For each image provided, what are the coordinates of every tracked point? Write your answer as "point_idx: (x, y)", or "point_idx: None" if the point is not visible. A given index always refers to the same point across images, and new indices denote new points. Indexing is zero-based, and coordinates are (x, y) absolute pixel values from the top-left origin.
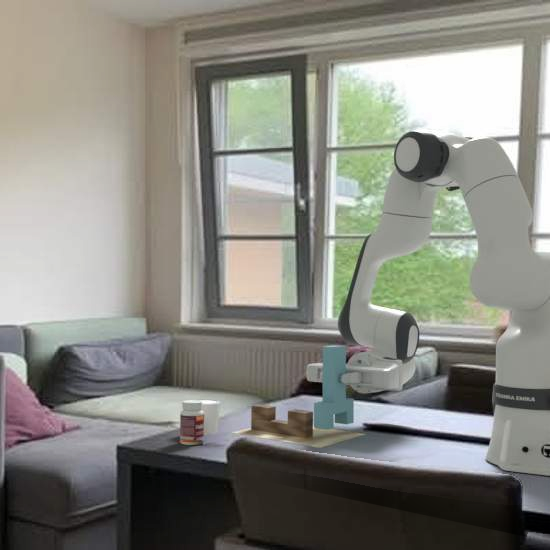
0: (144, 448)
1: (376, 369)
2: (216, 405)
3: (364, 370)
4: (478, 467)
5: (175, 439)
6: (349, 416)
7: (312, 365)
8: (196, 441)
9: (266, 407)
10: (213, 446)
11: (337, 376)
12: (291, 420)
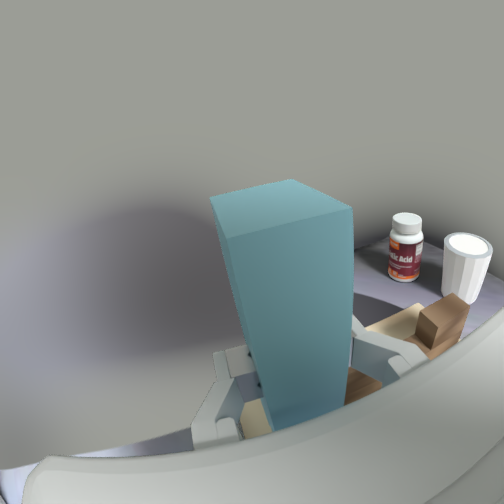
0: (383, 242)
1: (84, 466)
2: (453, 254)
3: (163, 454)
4: (15, 481)
5: (428, 264)
6: None
7: (501, 308)
8: (388, 270)
9: (426, 309)
10: (376, 287)
11: (246, 342)
12: None
